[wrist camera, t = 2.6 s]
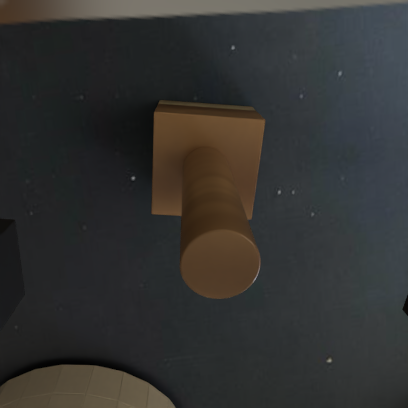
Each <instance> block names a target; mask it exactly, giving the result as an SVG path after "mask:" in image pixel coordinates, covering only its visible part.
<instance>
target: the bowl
mask: <svg viewBox="0 0 408 408" xmlns="http://www.w3.org/2000/svg"><path fill="white" fill-rule="evenodd" d="M0 408H176V407H175V406H174V405H173V403H172V402H171V400H170V399H168V397H167V396H165V395H164V394H163V393H161V392H160V391H159V390H157V389H156V388H155V387H153V386H152V385H151V384H149V383H148V382H146V381H143V380H141V379H139V378H137V377H134V376H132V375H130V374H128V373H125V372H123V371H119V370H114V369H110V368H105V367H100V366H96V365H63V364H62V365H57V366H51V367H45V368H39V369H34V370H32V371H29V372H27V373H25V374H22V375H20V376H17V377H15V378H13V379H10V380H8V381H7V382H6V383H4V384H3V385H2V386H1V387H0Z"/></svg>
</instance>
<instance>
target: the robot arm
mask: <svg viewBox="0 0 408 408" xmlns="http://www.w3.org/2000/svg"><path fill="white" fill-rule="evenodd" d="M24 295H25V291H24V283H23V275H22V268H21V260H20V252H19V245H18V237H17V229H16V221H15V220H12V219H0V331H1V330H2V328H3V327H4V325H5V323H6V322H7V320H8V319H9V317H10V316H11V314H12V313H13V311H14V310H15V308H16V307H17V305H18V304H19V302H20V301H21V299H22V298H23V296H24ZM403 311H404V312H405V313H406V314H407V316H408V295H407V298H406V301H405V304H404V307H403Z"/></svg>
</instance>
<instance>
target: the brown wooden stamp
mask: <svg viewBox="0 0 408 408" xmlns="http://www.w3.org/2000/svg"><path fill="white" fill-rule="evenodd" d="M264 127H265V119H264V118H263V117H262V116H261V115H260V114H259V113H258V112H257V111H256V110H255V109H254V108H253V107H249V106H236V105H222V104H209V103H195V102H181V101H168V100H160V101H159V103H158V105H157V107H156V109H155V112H154V131H153V171H152V211H151V213H152V214H159V215H178V216H181V242H180V272H181V275H182V277H183V279H184V281H185V283H186V284H187V285H188V286H189V287H190V288H191V289H192V290H193V291H194V292H196V293H198V294H200V295H202V296H205V297H208V298H215V299H223V298H229V297H233V296H235V295H238V294H240V293H242V292H243V291H245V290H246V289H247V288H249V287H250V286H251V285H252V283H253V282H254V281H255V279H256V277H257V275H258V273H259V270H260V263H261V261H260V254H259V251H258V248H257V245H256V242H255V240H254V237H253V234H252V231H251V228H250V225H249V222H248V219H251V218H252V212H253V205H254V198H255V190H256V183H257V176H258V169H259V162H260V155H261V148H262V141H263V134H264Z"/></svg>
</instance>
